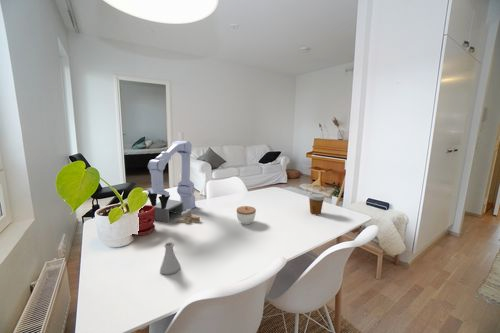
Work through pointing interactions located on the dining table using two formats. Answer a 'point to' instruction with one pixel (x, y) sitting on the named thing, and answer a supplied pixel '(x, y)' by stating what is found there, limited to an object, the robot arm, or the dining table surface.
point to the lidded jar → (246, 214)
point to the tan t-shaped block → (188, 217)
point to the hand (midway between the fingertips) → (158, 207)
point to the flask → (169, 261)
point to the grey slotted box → (168, 209)
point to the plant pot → (146, 219)
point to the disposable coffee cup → (316, 203)
